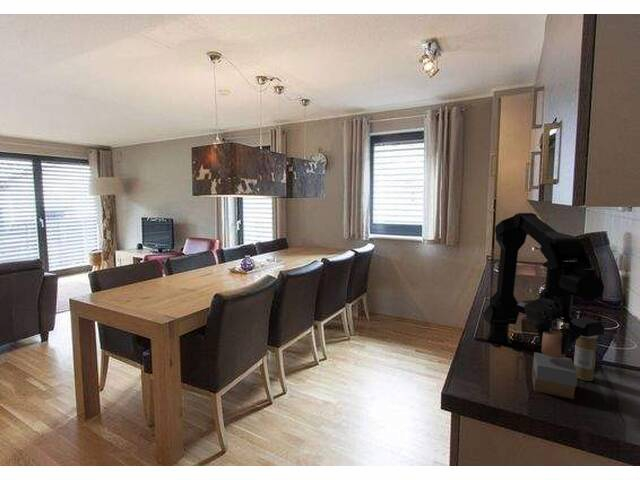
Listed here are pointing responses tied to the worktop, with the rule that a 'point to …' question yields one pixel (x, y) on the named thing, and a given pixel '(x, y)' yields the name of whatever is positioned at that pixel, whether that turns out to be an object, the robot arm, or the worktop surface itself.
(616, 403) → the worktop surface
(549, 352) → the orange clay cylinder
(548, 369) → the grey top block
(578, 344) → the sprinkles bottle
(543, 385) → the beige square block
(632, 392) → the worktop surface
